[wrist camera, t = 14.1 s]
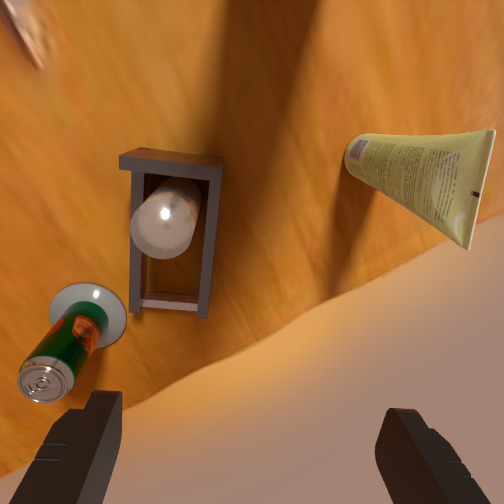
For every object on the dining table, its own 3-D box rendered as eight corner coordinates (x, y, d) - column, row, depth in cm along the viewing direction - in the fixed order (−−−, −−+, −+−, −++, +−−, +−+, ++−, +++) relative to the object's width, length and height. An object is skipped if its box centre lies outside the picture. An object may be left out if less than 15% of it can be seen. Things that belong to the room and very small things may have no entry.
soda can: (116, 327, 45) (80, 397, 34) (79, 339, 45) (31, 413, 34) (98, 293, 43) (53, 355, 32) (59, 306, 43) (1, 372, 32)
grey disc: (49, 279, 43) (47, 281, 42) (127, 286, 44) (126, 288, 43) (53, 343, 46) (51, 345, 45) (126, 348, 47) (125, 351, 46)
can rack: (139, 147, 38) (119, 155, 31) (223, 158, 39) (223, 168, 32) (135, 297, 44) (117, 334, 37) (208, 304, 45) (204, 341, 38)
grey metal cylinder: (157, 173, 39) (130, 196, 28) (203, 179, 40) (195, 204, 29) (155, 217, 41) (129, 256, 30) (199, 222, 42) (190, 262, 30)
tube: (398, 161, 41) (539, 199, 22) (362, 192, 42) (469, 252, 23) (369, 122, 39) (496, 128, 21) (333, 155, 40) (423, 188, 22)
